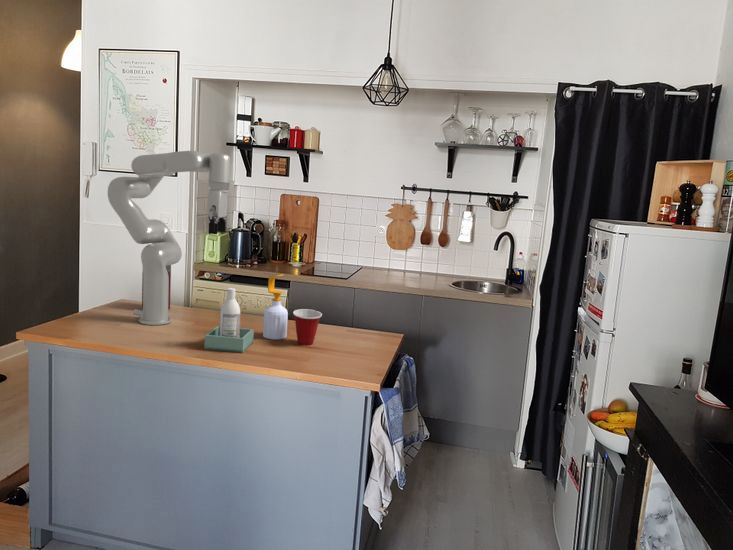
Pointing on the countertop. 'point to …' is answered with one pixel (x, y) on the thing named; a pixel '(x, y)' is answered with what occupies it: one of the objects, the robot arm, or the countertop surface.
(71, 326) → the countertop surface
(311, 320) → the plastic cup
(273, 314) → the soap bottle
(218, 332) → the tub
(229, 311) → the bath foam
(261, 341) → the countertop surface
